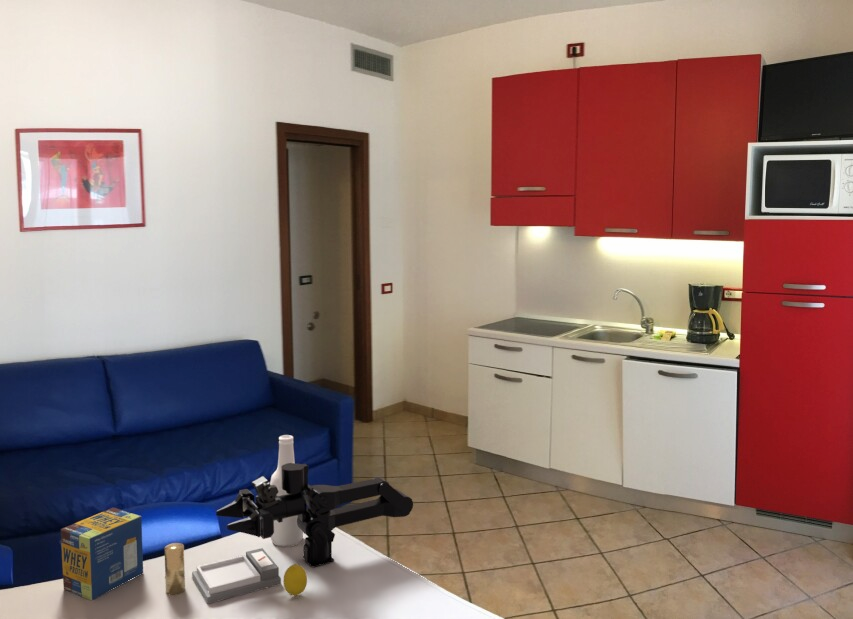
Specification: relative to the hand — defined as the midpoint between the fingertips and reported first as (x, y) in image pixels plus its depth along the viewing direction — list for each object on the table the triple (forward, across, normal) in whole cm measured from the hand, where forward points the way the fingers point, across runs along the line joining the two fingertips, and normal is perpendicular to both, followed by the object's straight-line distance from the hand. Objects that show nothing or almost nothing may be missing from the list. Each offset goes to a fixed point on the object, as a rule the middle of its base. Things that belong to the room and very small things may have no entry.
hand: (221, 520), depth 175 cm
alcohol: (-22, -15, +17) cm, 32 cm away
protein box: (+25, -16, +17) cm, 34 cm away
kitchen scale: (-3, 0, +17) cm, 17 cm away
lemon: (-13, +14, +17) cm, 26 cm away
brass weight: (+11, -3, +16) cm, 20 cm away
